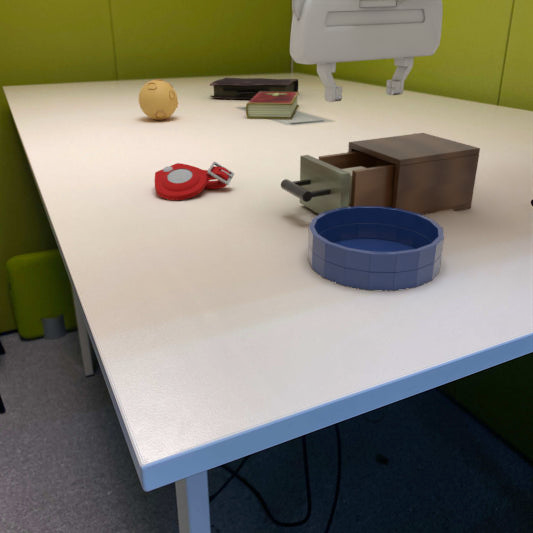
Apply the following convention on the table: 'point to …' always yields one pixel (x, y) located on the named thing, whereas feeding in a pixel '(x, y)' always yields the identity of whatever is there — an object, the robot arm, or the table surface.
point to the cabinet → (426, 171)
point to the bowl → (375, 247)
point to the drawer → (343, 181)
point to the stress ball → (158, 99)
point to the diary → (251, 87)
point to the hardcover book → (272, 105)
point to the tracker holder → (189, 180)
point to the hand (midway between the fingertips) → (364, 97)
